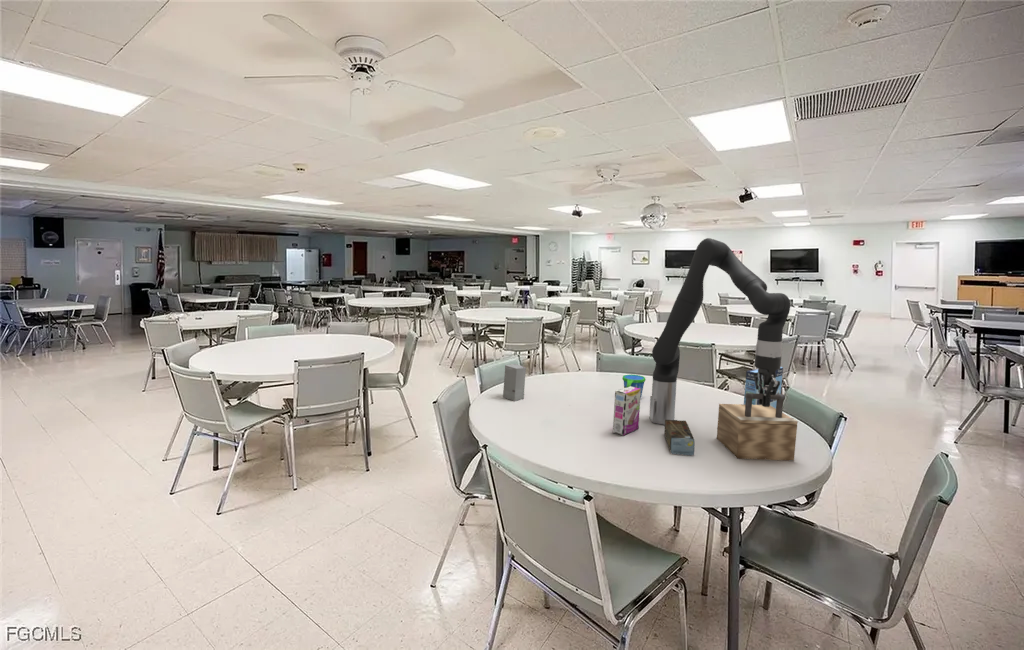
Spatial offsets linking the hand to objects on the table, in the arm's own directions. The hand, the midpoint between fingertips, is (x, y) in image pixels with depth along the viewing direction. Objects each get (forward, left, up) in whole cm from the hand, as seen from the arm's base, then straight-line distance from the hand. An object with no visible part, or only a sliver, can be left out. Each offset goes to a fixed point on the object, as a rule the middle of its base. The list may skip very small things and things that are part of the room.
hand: (764, 405), depth 153 cm
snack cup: (-29, +66, -17) cm, 74 cm away
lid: (0, +5, -5) cm, 7 cm away
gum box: (+15, +32, -17) cm, 39 cm away
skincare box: (-86, +59, -17) cm, 106 cm away
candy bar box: (-41, +19, -17) cm, 48 cm away
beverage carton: (-25, +7, -18) cm, 31 cm away
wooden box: (0, +5, -17) cm, 18 cm away
